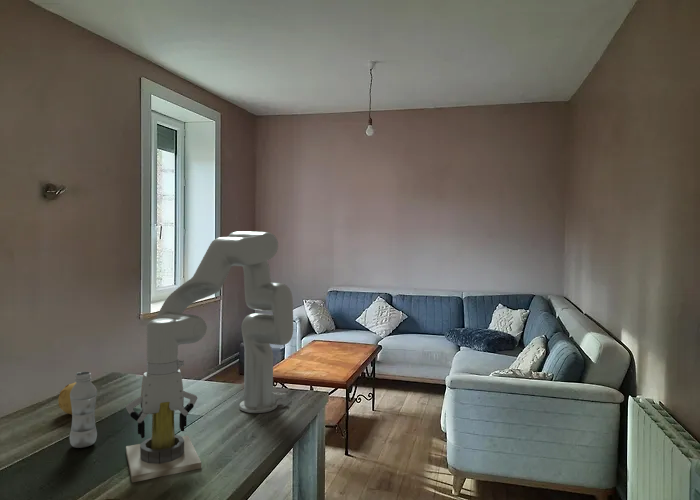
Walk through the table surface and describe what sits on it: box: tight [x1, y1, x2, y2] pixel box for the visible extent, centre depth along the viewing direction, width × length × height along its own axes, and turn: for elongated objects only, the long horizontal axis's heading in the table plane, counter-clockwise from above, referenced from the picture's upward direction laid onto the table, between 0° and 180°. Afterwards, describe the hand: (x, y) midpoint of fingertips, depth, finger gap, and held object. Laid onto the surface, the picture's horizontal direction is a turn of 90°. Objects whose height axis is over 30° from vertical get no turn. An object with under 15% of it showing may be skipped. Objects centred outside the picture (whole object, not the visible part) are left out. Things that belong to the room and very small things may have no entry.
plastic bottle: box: [69, 371, 98, 449], centre depth 136 cm, size 6×7×20 cm
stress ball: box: [57, 382, 76, 416], centre depth 159 cm, size 10×10×10 cm
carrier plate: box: [125, 434, 202, 483], centre depth 129 cm, size 16×18×4 cm
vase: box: [151, 402, 176, 450], centre depth 129 cm, size 6×6×14 cm
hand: (162, 432), depth 129 cm, fingers open, 9 cm apart
